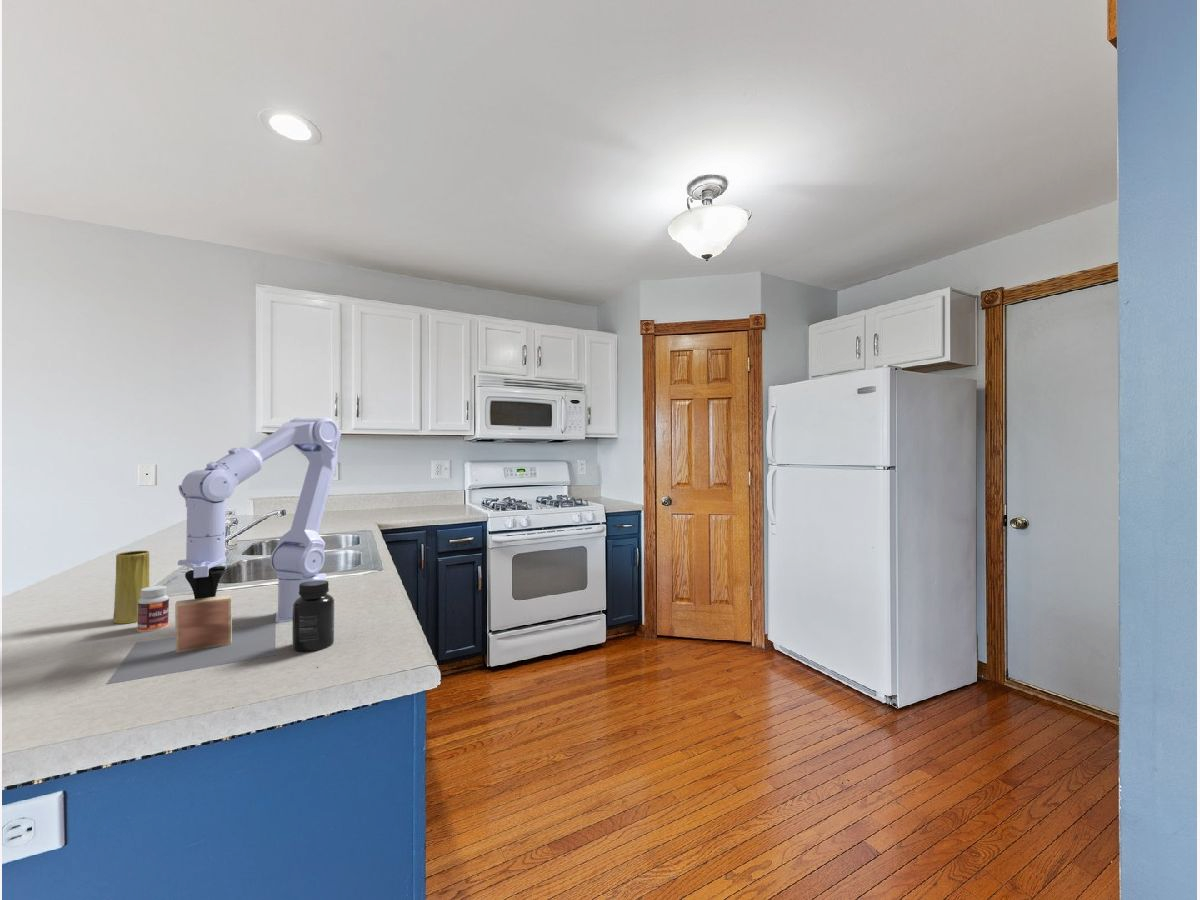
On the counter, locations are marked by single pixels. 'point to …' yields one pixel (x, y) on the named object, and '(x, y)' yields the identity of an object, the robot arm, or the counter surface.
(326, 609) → the supplement bottle
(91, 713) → the counter surface
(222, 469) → the robot arm
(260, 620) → the counter surface
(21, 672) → the counter surface
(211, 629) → the tile
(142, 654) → the mat
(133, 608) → the vase
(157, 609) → the pill bottle
